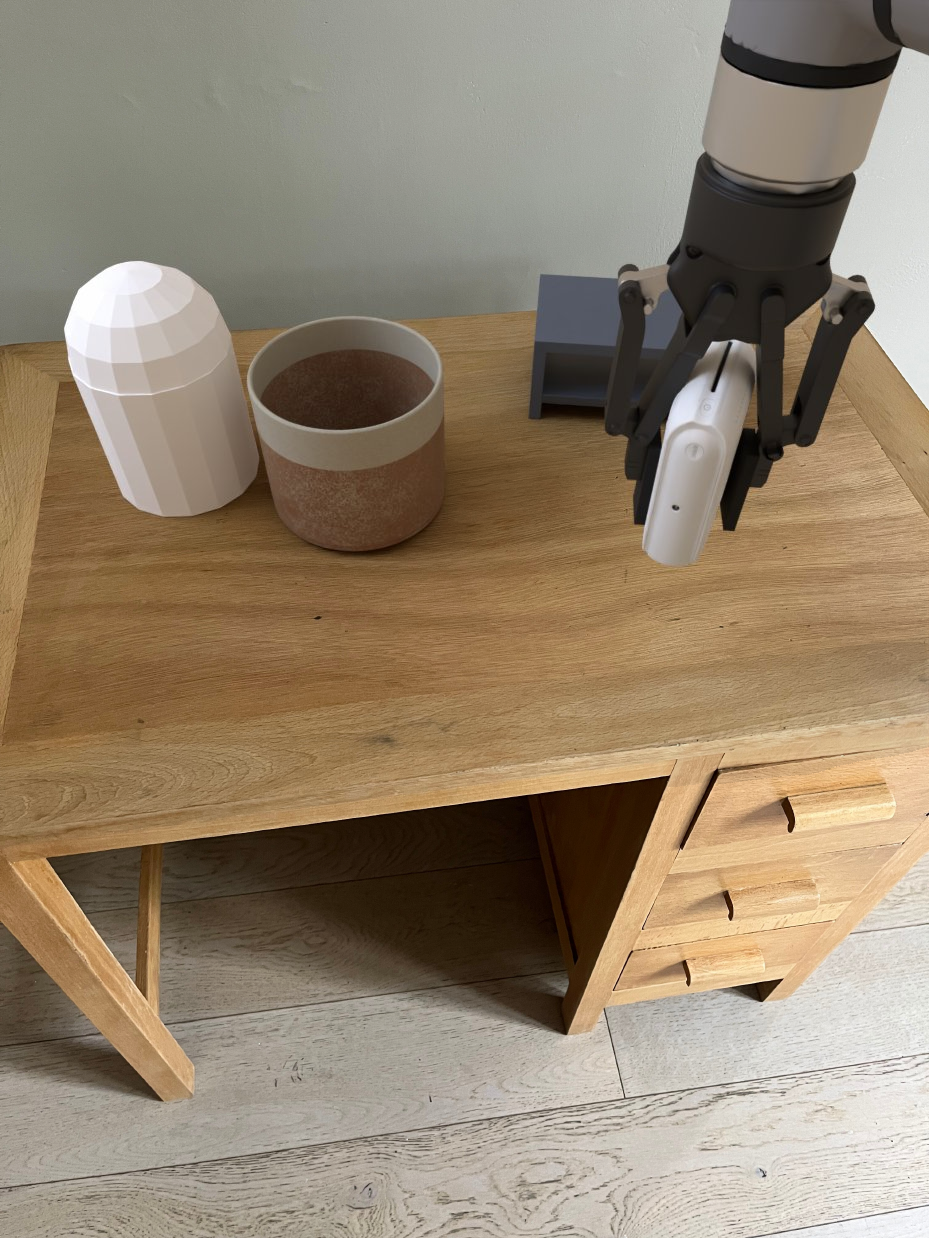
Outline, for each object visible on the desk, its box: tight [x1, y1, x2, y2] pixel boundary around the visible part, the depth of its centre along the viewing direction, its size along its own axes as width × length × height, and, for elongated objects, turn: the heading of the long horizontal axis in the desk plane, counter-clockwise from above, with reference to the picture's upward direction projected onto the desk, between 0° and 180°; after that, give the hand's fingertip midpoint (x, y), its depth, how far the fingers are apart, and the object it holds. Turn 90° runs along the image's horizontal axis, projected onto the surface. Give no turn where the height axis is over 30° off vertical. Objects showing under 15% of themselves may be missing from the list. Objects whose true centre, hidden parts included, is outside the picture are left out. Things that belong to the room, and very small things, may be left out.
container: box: [63, 260, 260, 518], centre depth 75 cm, size 13×13×20 cm
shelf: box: [528, 273, 682, 420], centre depth 87 cm, size 20×12×9 cm, turn 84°
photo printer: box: [641, 340, 756, 568], centre depth 54 cm, size 10×4×12 cm, turn 158°
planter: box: [246, 315, 446, 552], centre depth 75 cm, size 16×16×14 cm
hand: (682, 513), depth 59 cm, fingers closed on photo printer, 5 cm apart
